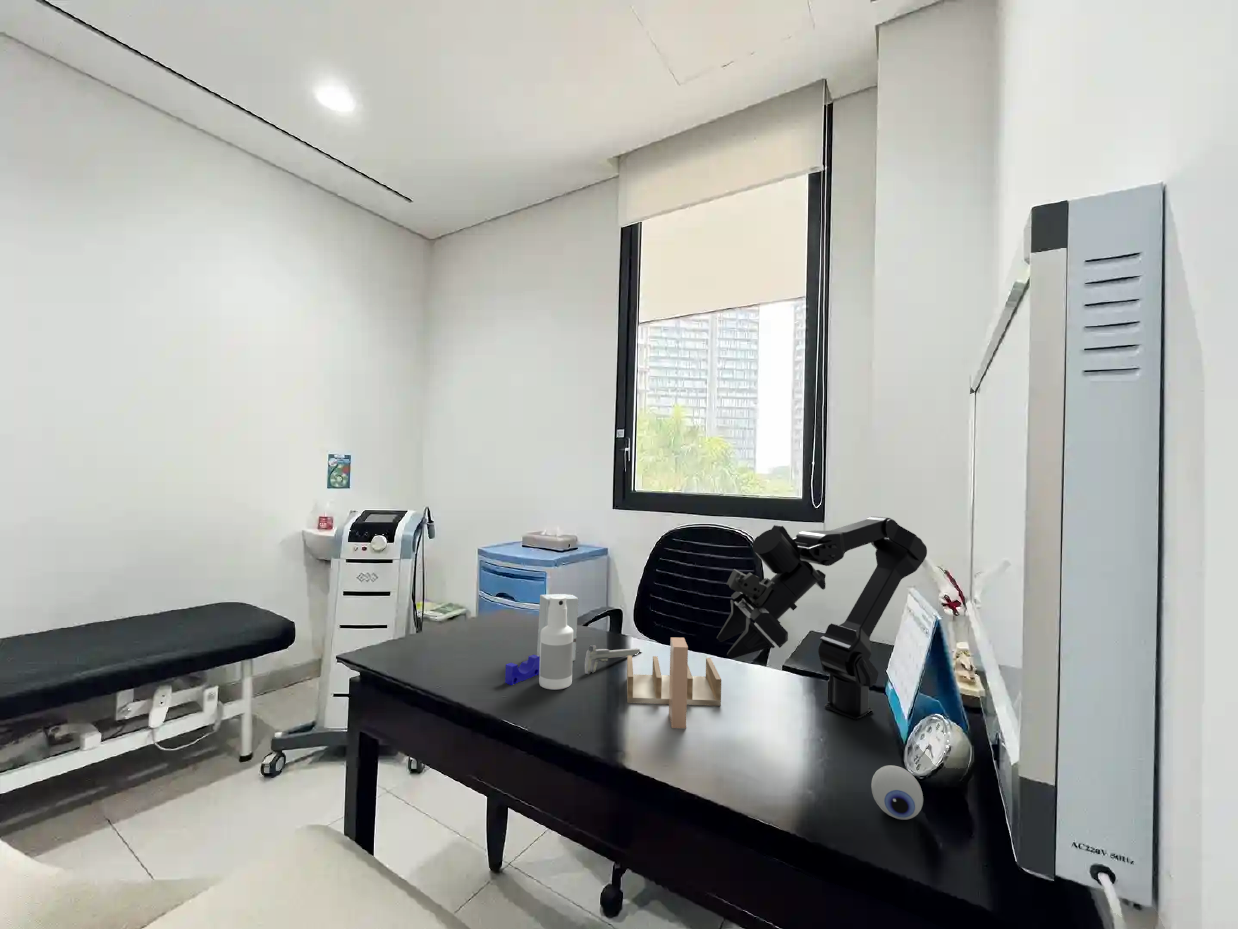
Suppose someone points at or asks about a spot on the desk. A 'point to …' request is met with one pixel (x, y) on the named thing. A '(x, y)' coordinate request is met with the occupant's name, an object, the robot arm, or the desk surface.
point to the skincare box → (571, 616)
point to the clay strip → (678, 682)
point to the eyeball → (897, 792)
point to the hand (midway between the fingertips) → (723, 647)
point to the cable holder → (522, 670)
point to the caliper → (604, 656)
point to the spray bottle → (556, 647)
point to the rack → (657, 685)
